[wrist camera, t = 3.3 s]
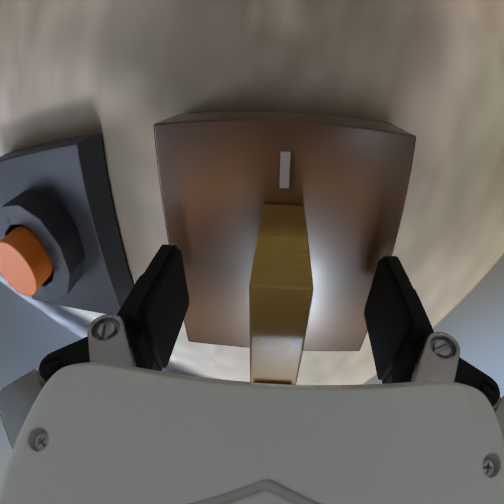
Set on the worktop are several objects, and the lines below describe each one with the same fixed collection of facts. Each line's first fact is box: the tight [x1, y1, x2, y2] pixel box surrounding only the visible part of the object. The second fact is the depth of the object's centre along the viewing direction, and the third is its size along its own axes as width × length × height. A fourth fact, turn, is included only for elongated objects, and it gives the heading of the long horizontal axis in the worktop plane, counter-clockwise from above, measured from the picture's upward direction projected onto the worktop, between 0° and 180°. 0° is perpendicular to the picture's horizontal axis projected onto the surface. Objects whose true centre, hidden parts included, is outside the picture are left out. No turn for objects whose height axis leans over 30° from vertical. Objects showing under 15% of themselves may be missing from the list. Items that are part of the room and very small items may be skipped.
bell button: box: [0, 226, 53, 296], centre depth 13 cm, size 4×4×2 cm
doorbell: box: [0, 133, 133, 315], centre depth 15 cm, size 11×9×4 cm
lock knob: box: [249, 204, 314, 385], centre depth 11 cm, size 6×2×5 cm, turn 0°
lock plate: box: [154, 112, 416, 351], centre depth 14 cm, size 12×10×3 cm
